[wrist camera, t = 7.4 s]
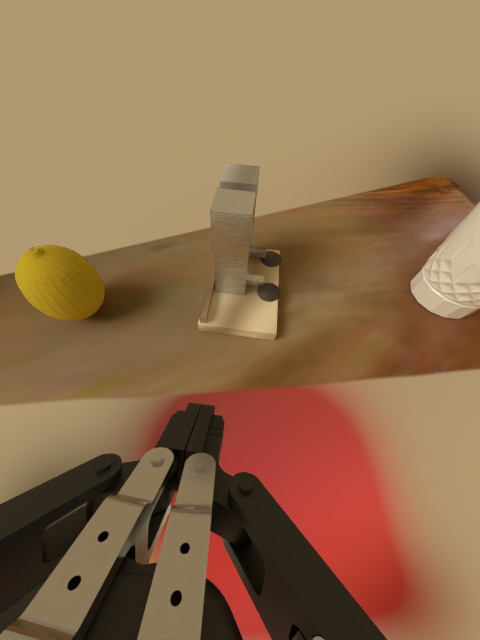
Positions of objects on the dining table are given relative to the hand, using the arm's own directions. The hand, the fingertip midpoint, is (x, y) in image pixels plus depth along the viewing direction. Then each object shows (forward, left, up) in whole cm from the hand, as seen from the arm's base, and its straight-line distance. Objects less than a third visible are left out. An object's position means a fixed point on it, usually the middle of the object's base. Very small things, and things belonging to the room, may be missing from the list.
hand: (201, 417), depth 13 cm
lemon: (-14, +9, -6) cm, 18 cm away
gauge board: (+1, +14, -5) cm, 15 cm away
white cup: (+24, +17, -6) cm, 30 cm away
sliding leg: (0, +14, -4) cm, 15 cm away
